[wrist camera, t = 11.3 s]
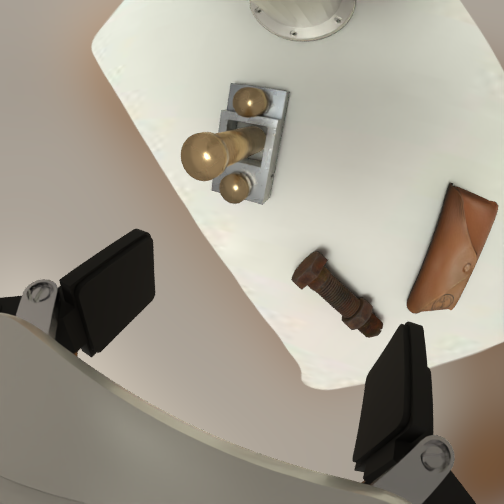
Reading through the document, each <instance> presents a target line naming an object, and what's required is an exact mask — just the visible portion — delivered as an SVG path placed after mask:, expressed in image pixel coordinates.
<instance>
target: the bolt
mask: <svg viewBox="0 0 504 504" xmlns="http://www.w3.org/2000/svg"><path fill="white" fill-rule="evenodd" d="M327 261H328V260H327V259H326V258H325V257H324V256H323V255H322V254H321V253H319V252H318V251H315V252H313V253H311V254H310V255H309V256H308V257H307V258H305V259H304V261H303V262H302V263H301V264H300V265H299V266H298V267H297V269H296V270H295V272H294V274H293V276H292V279H291V280H292V281H293V282H294V283H295V284H296V285H297V286H298V287H299V288H300V289H303V288H304V287H306V286H309V287H310V288H311V289H312V290H314V291H316V293H318V294H319V295H320V296H321V297H323V299H325V301H327V302H328V303H329V304H330V305H331V306H332V307H333V308H335V309H336V310H337V311H338V312H339V313H340V314H341V315H342V321H343V322H344V323H345V324H346V325H347V326H348V327H349V328H350V329H351V330H355V329H358V330H359V331H360V332H361V333H362V334H364V335H365V336H366V337H368V338H370V337H374V336H377V335H379V334H380V332H381V330H380V329H382V328H383V322H381V320H380V319H378V318H377V317H376V316H375V315H374V314H373V313H372V309H373V306H372V305H371V304H370V303H368V302H367V301H366V300H365V299H364V298H357V297H355V295H353V294H352V293H351V292H350V291H349V290H348V289H347V288H346V287H345V286H344V285H343V284H342V283H341V282H340V281H339V280H337V278H335V277H334V276H333V275H332V274H331V273H330V271H329V270H328V269H327V268H326V267H325V264H326V262H327Z"/></svg>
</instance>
